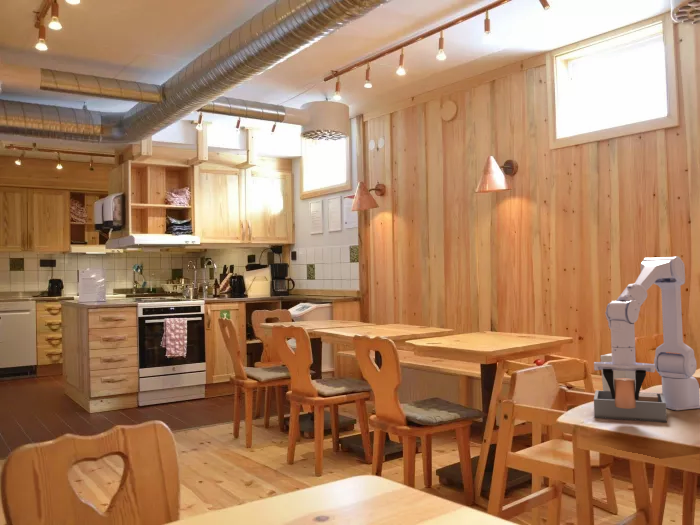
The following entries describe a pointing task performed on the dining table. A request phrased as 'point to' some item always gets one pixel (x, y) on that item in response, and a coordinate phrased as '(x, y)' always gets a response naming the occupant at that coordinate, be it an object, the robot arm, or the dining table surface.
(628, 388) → the terracotta cylinder
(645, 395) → the walnut block
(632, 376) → the skincare box
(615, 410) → the tote
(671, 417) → the dining table surface
